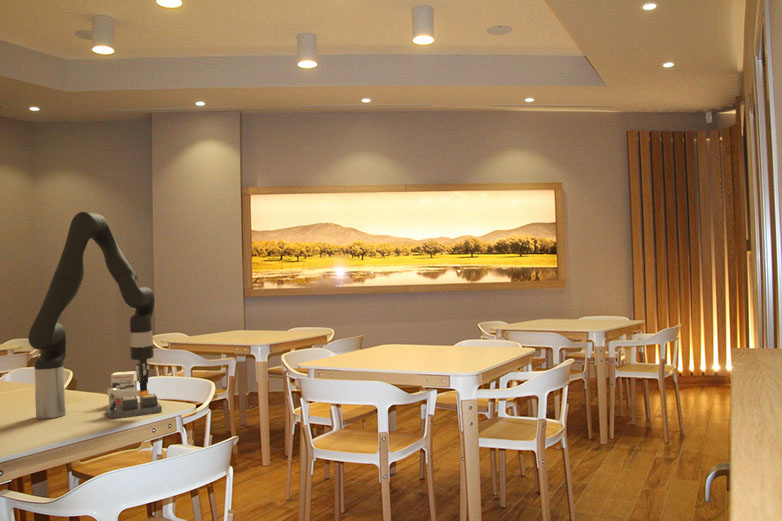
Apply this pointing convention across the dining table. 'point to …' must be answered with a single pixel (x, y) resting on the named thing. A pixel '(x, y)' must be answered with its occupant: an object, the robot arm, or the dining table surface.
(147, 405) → the dark boxy piece
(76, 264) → the robot arm
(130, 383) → the ink box
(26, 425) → the dining table surface
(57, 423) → the dining table surface
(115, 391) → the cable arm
